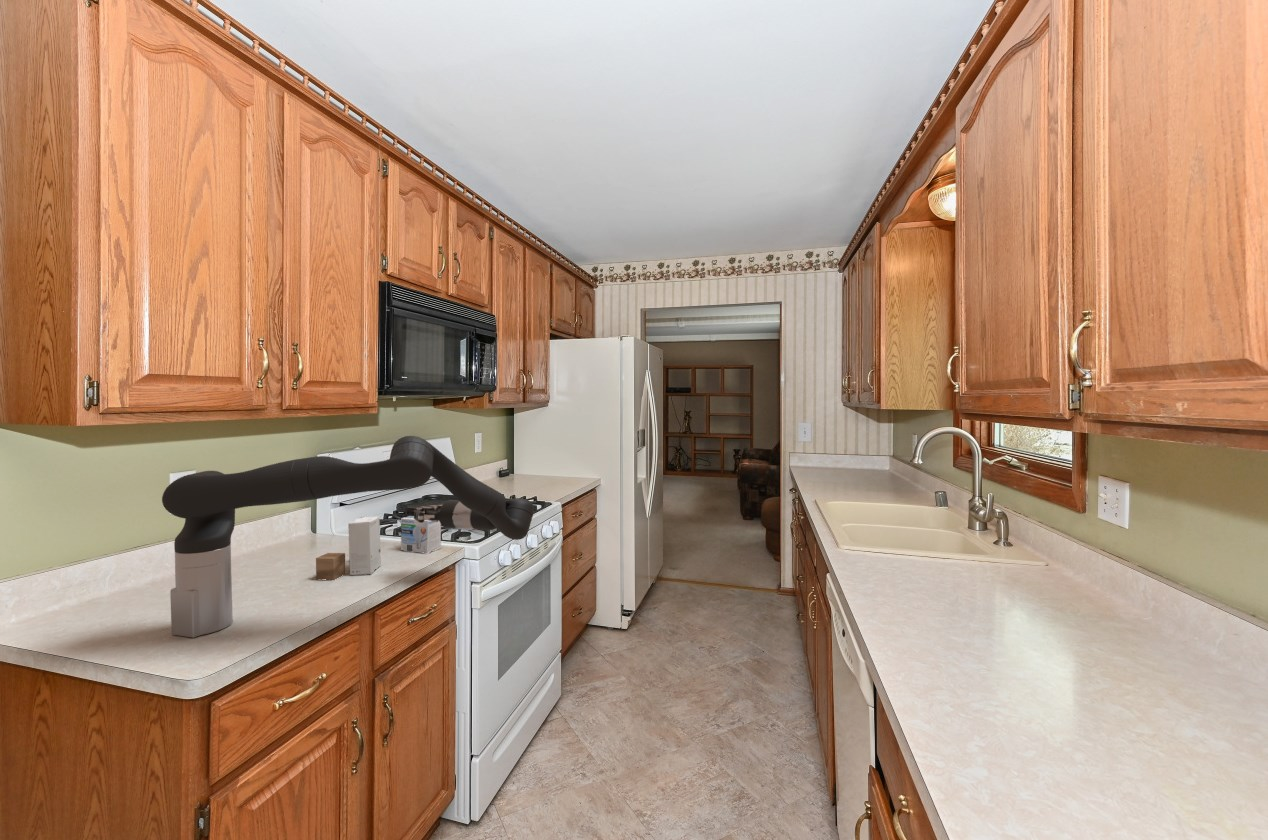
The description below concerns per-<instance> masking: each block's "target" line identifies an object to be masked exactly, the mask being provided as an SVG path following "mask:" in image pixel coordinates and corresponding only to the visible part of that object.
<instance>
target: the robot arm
mask: <svg viewBox="0 0 1268 840" xmlns="http://www.w3.org/2000/svg"><path fill="white" fill-rule="evenodd" d="M431 478H434V479H435V480H436V481H437V482H439V483H440V484H441V485H442V486H444V487H445V488H446V489H447V490H448V491H449V493H451V494H452V495H453V496H454V498H455V500H454V499H448V500H446V501H445V502H443V504H433V505H432V504H431V505H428V504H427V505H426V506H423V505H422V506H407V507H405V509H404V512H405V513H404V514H405V517H408V516H414V519H415V520H416V521H418V522H420V523H422V522H424V521H425V520H429V521H432V522H438V520H439V521H440V523H441V526H442V527H443V528H445V529H454V530H478V531H479V530H482V531H492V530H493V531H494V530H495V529H497V530H498V531H499V532H500V533H501V534H502V535H503V536H505V537H506V538H508V539H511V540H515V541H517V540H523V539H524V538H526V537H527V535H528V533H529V530H530V527H531V524H532V520H533V516H534V514H535V506H534V504H533V502H532V501H530V500H528V499H525V498H522V497H521V498H520V497H516V498H510V499H506V496H505V495H504V494H503V493H501V492H500V491H498V490H496V489H495V488H492V487H490V486H489V485H487V484H486V483H485V482H482V481H480V480H478V479H477V478H476V477H474V476H473V475H471V474H470V473H468V472H467V471H465V469H463V468H461V467H460V466H459V465H458V464H457V463H455V462H453V460H452V459H449V458H448V456H446V455H445V454H444V453H442V452H441V451H440V450H439V449H438V448H436V447H435V446H434V445H433V444H431V443H430V442H429V441H428V440H425V438H422V437H420V436H416V435H406V436H403V437H402V436H401V437H400V438H399V439H397V440H396V441H395V442H394V443H393V445H392V447H391V451H390V454H389V458H388V459H386V460H380V461H374V462H367V463H366V462H365V463H364V462H363V463H361V462H360V463H359V462H352V461H348V460H344V459H340V458H337V457H333V456H328V455H327V456H326V455H320V456H319V455H318V456H309V457H304V458H303V457H301V458H296V459H291V460H285V461H281V462H277V463H272V464H268V465H265V466H261V467H258V468H253V469H249V470H246V471H241V472H235V473H234V472H233V473H223V472H220V471H218V470H204V471H200V472H195V473H191V474H186V475H183V476H180V477H178V478H177V479H175V480H173V481H172V482H171V483H169V484H168V486H167V487H166V488H165V490H163V493H162V496H161V503H162V505H163V507H164V509H165V510H166V511H167V512H168V513H169V514H171V515H173V516H175V517H178V518H181V519H185V520H184V524H183V527H182V529H181V531H179V533H178V534H177V535H176V537H175V538H174V542H173V543H174V549H173V550H174V572H175V573H174V574H175V575H174V576H175V579H174V581H175V582H174V583H175V587H173V588H171V589H170V592H169V596H170V627H171V628H170V629H171V635H174V636H180V637H187V638H196V637H199V636H203V635H207V634H212V633H216V632H218V631H220V630H224V629H225V628H227V627H229V626H231V624H232V623H233V621H234V619H233V617H234V616H233V614H234V613H233V583H232V581H233V579H232V544H231V543H232V535H233V533H234V529H235V525H236V524H235V523H236V509H242V508H247V507H256V506H260V507H261V506H272V505H282V504H291V503H299V502H307V501H312V500H319V499H325V498H331V497H337V496H343V495H350V494H353V495H354V494H356V493H357V494H360V493H367V492H378V491H379V492H380V491H395V490H396V491H397V490H399V491H400V490H409V489H415V488H419V487H421V486H423V485H425V484H427V483H428V482H429V481H430V479H431Z"/></svg>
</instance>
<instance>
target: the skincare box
mask: <svg viewBox="0 0 1268 840" xmlns="http://www.w3.org/2000/svg"><path fill="white" fill-rule="evenodd" d="M347 528H348V553H349V554H348V556H349V557H348V558H349V560H348V561H349V575H350V576H355V575H358V576H359V575H360V576H362V575H363V576H365V575H364V574H370V575H372V574H373V573H374V572H375V571H376V570H377V569H379V568H380V567H381V566H380V565H382V558H381V557H382V555H381V531H380V530H381V529H380V516H366V517H365V516H364V517H357V518H356V519H353V520H352V521H350V522H348V527H347ZM379 566H380V567H379ZM378 567H379V568H378ZM375 569H376V570H375ZM374 570H375V571H374ZM372 572H373V573H372Z"/></svg>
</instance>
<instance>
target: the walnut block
mask: <svg viewBox="0 0 1268 840" xmlns="http://www.w3.org/2000/svg"><path fill="white" fill-rule="evenodd" d="M344 574H345V575H346V553H345V552H342V553H341V552H327V553H324V554H322V555H320V556H318V557H316V558H315V580H316V579H326V580H325V581H332V580H334V581H335V579H336V580H338V579H340V578H341V576H342V575H343V576H345V575H344ZM343 576H342V577H343ZM339 577H340V578H339ZM337 578H338V579H337Z"/></svg>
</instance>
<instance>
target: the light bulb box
mask: <svg viewBox="0 0 1268 840" xmlns="http://www.w3.org/2000/svg"><path fill="white" fill-rule="evenodd" d="M441 526H442V525H441V523H440V521H439V520H438V522H432V521H429V520H425V521H424V522H422V523H420V522H418V521H416V520H415V519H414V516H404V517H401V518H400V551H401V550H404V551H403V552H407V551H413V552H412V553H415V552H424V553H428V552H431V551H433V550H435V549H437V548H439V547H440V546H441V547H442V543H441V542H442V535H441V534H442V533H441V532H442V527H441ZM431 553H432V552H431Z"/></svg>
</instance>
